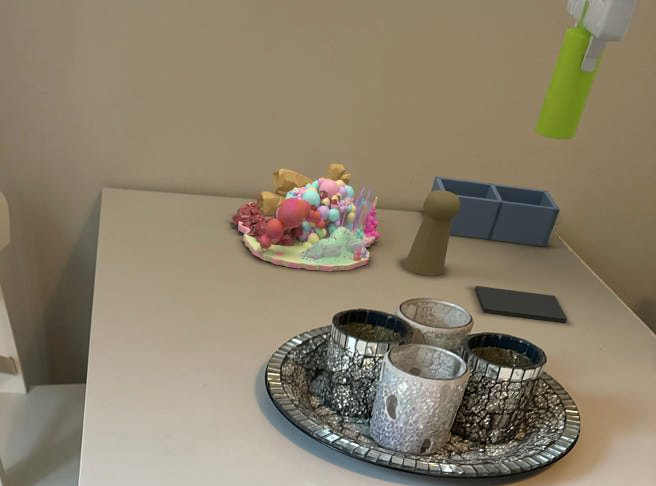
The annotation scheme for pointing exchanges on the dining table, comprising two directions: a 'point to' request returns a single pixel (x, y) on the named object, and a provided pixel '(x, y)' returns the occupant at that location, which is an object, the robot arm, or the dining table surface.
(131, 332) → the dining table surface
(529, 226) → the box
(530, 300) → the mat
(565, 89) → the soap dispenser
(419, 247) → the olive game pawn
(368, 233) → the candy landscape model
